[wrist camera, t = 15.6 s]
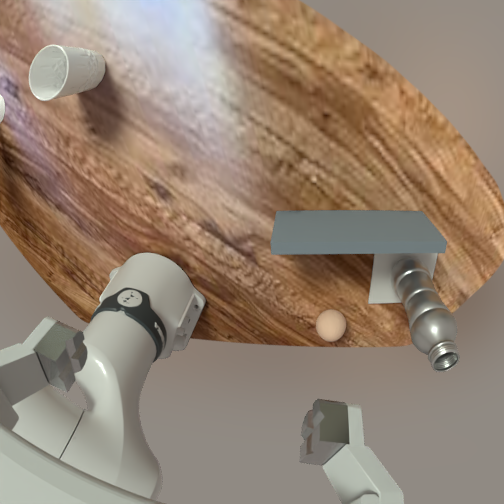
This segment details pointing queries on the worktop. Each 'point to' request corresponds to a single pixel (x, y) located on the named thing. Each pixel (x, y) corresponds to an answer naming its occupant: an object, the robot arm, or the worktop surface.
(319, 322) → the egg
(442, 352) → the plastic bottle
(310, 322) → the worktop surface
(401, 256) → the grey mat
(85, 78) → the white cup
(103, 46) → the worktop surface
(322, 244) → the slate screen
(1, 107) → the champagne flute
